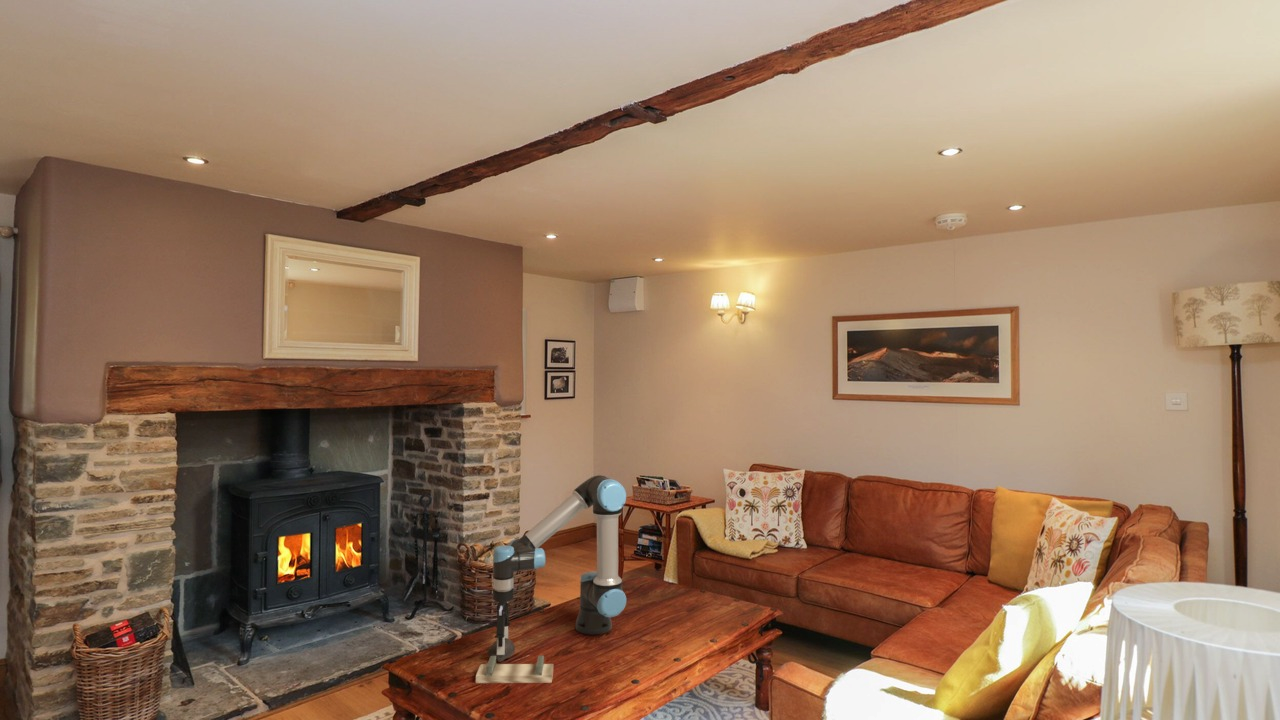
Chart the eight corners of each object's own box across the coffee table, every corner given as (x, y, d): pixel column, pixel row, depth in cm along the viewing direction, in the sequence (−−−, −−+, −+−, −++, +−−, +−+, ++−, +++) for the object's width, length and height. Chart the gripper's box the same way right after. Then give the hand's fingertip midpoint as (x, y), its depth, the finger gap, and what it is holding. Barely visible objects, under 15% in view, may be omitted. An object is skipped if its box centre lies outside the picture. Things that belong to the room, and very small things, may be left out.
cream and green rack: (553, 670, 245) (553, 655, 245) (551, 682, 236) (551, 666, 236) (480, 671, 243) (480, 655, 243) (475, 683, 234) (476, 667, 234)
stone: (485, 670, 251) (496, 658, 246) (481, 648, 257) (492, 635, 251) (510, 667, 257) (521, 655, 252) (505, 645, 262) (516, 633, 257)
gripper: (497, 579, 265) (496, 637, 265) (488, 598, 243) (487, 661, 243) (516, 579, 265) (516, 637, 265) (509, 598, 244) (508, 661, 244)
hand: (502, 649), depth 254 cm, fingers closed on stone, 8 cm apart
